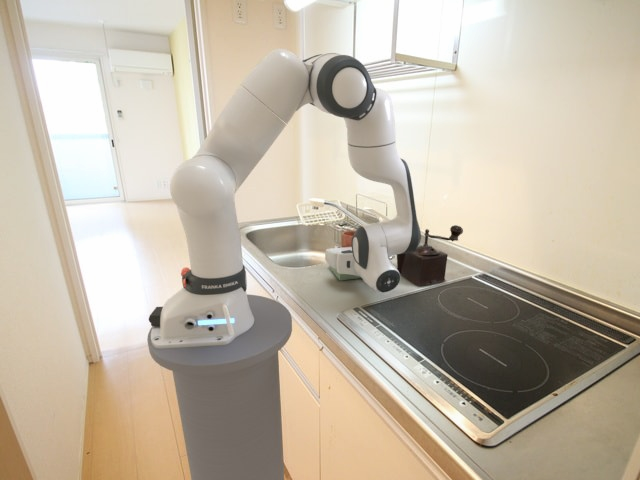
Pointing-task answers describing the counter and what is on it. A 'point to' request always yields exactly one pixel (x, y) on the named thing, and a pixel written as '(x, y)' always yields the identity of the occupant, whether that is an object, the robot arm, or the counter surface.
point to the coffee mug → (402, 260)
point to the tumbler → (347, 238)
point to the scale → (343, 275)
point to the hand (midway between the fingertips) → (349, 246)
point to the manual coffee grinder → (428, 261)
